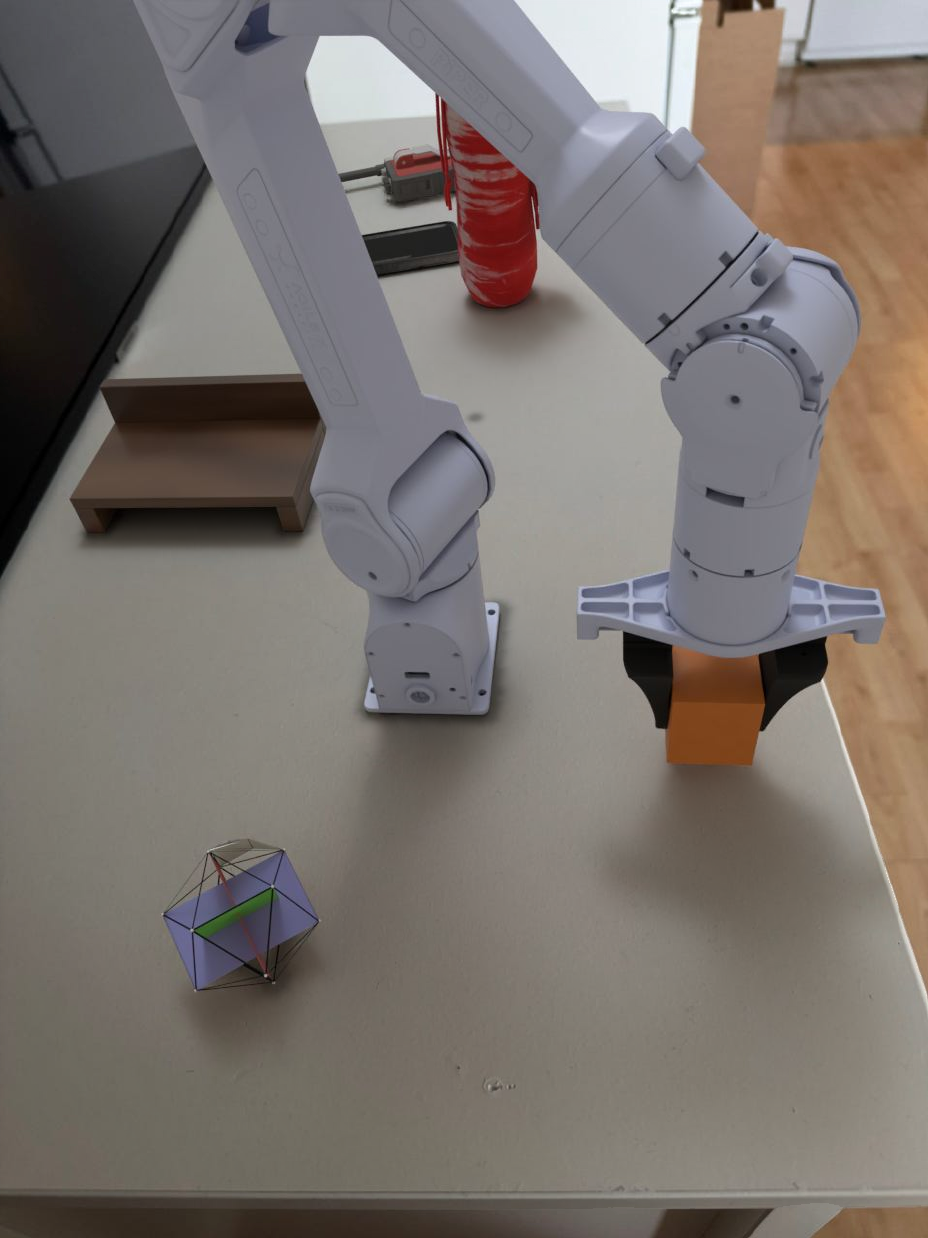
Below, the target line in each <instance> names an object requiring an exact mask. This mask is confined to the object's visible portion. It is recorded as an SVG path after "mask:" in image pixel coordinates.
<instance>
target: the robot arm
mask: <svg viewBox="0 0 928 1238" xmlns="http://www.w3.org/2000/svg"><path fill="white" fill-rule="evenodd" d="M132 1H133V4H134V6H135V8H136V10H137V12H138V15H139V17H140V19H141V21H142V23H143V25H144V27H145V30H146V32H147V35H148V36H149V38H150V41H151V43H152V46H153V47H154V49H155V52H156V54H157V56H158V58H159V60H160V63H161V65H162V67H163V71H164V74H165V77H166V80H167V82H168V84H169V87H170V89H171V92H172V94H173V96H174V98H175V101H176V103H177V105H178V107H179V110H180V112H181V113H182V116H183V118H184V120H185V122H186V125H187V127H188V129H189V131H190V133H191V136H192V137H193V140H194V142H195V145H196V146H197V149H198V151H199V154H200V156H201V157H202V159H203V162H204V164H205V166H206V168H207V170H208V173H209V175H210V177H211V179H212V181H213V183H214V185H215V188H216V190H217V192H218V195H219V196H220V198H221V201H222V203H223V205H224V208H225V210H226V212H227V214H228V216H229V219H230V220H231V222H232V225H233V227H234V229H235V231H236V233H237V236H238V238H239V240H240V242H241V244H242V247H243V249H244V251H245V254H246V255H247V257H248V260H249V261H250V264H251V267H252V268H253V271H254V273H255V275H256V277H257V279H258V282H259V284H260V286H261V288H262V290H263V293H264V295H265V297H266V299H267V301H268V303H269V305H270V308H271V311H272V313H273V314H274V317H275V319H276V321H277V322H278V325H279V328H280V330H281V332H282V334H283V336H284V338H285V341H286V343H287V345H288V348H289V349H290V352H291V354H292V356H293V358H294V360H295V362H296V364H297V366H298V369H299V371H300V374H302V375H303V378H304V380H305V382H306V384H307V386H308V388H309V391H310V393H311V395H312V397H313V399H314V402H315V404H316V406H317V408H318V410H319V412H320V415H321V417H322V419H323V421H324V423H325V426H326V434H325V439H324V442H323V445H322V449H321V452H320V455H319V458H318V462H317V465H316V468H315V471H314V475H313V478H312V482H311V486H310V492H311V495H312V497H313V502H315V505H316V507H317V510H318V513H319V516H320V527H321V528H320V529H321V537H322V540H323V543H324V546H325V549H326V552H327V554H328V556H329V557H330V560H331V561H332V563H333V564H334V565H335V567H336V568H337V569H338V570H339V571H340V573H341V574H342V575H343V576H344V577H346V578H347V580H349V581H350V582H351V583H353V584H354V585H356V586H357V587H358V588H361V589H362V590H364V591H366V595H367V599H368V612H369V613H368V620H367V625H366V630H365V635H364V638H363V639H364V640H363V651H364V656H365V660H366V664H367V667H368V668H367V669H368V671H369V678H368V681H367V682H368V683H367V687H366V692H365V697H364V700H363V707H364V709H365V711H366V712H368V713H383V714H384V713H385V714H386V713H387V714H389V713H390V714H425V715H427V714H431V715H465V716H466V715H468V716H469V715H470V716H471V715H473V716H483V715H485V714H487V713H488V712H489V710H490V704H491V695H492V688H493V687H492V685H493V677H494V676H493V675H494V667H495V659H496V650H497V649H496V647H497V641H498V639H497V638H498V630H499V621H500V613H501V609H500V608H501V607H500V604H499V603H497V602H495V601H494V602H493V601H486V599H485V591H484V583H483V574H482V566H481V558H480V550H479V540H478V530H479V528H480V527H481V520H480V511H479V509H481V508H483V507H484V506H485V504H487V503H488V502H489V500H490V499H491V498H492V496H493V495H494V492H495V488H496V474H495V468H494V467H493V464H492V461H491V459H490V457H489V455H488V454H487V452H486V451H485V449H484V448H483V446H482V445H481V444H480V442H478V440H477V439H476V438H475V437H474V435H472V433H471V431H470V430H469V429H468V427H467V425H466V423H465V421H464V418H463V416H462V413H461V411H460V407H459V405H458V403H457V402H454V401H453V400H450V399H448V398H445V397H442V396H439V395H438V396H437V395H434V394H429V393H423V392H422V391H421V388H420V385H419V382H418V380H417V377H416V375H415V372H414V370H413V367H412V364H411V362H410V358H409V357H408V354H407V351H406V348H405V346H404V343H403V341H402V338H401V335H400V333H399V329H398V327H397V325H396V322H395V319H394V317H393V314H392V312H391V309H390V307H389V304H388V301H387V298H386V296H385V293H384V290H383V289H382V285H381V282H380V280H379V277H378V275H376V272H375V269H374V267H373V264H372V261H371V259H370V256H369V253H368V251H367V248H366V246H365V243H364V240H363V238H362V235H363V234H362V233H361V230H360V228H359V225H358V222H357V219H356V217H355V214H354V211H353V209H352V206H351V204H350V200H349V198H348V196H347V192H346V190H345V187H344V185H343V182H341V180H340V177H339V175H338V174H339V172H338V170H337V166H336V165H335V161H334V159H333V156H332V154H331V151H330V148H329V145H328V143H327V140H326V138H325V135H324V132H323V130H322V127H321V124H320V122H319V120H318V119H319V118H318V117H317V114H316V112H315V109H314V106H313V104H312V100H311V99H310V95H309V93H308V91H307V87H306V83H305V78H306V74H307V71H308V68H309V65H310V63H311V61H312V58H313V55H314V53H315V50H316V47H317V45H318V43H319V42H318V41H319V39H320V37H346V36H347V37H371V38H373V39H375V40H376V41H378V42H379V43H380V44H381V45H382V46H383V47H385V49H387V51H389V52H390V53H391V54H392V55H393V56H394V57H396V58H397V59H398V60H399V61H400V62H401V63H402V64H403V65H404V66H405V67H406V68H408V69H409V71H411V72H412V73H413V74H414V75H415V76H416V77H417V78H418V79H420V81H422V82H423V83H424V84H425V85H426V86H428V88H430V90H432V91H433V92H434V94H435V93H436V94H437V95H438V96H439V98H440V99H441V98H442V99H443V100H444V101H445V102H446V103H447V104H448V105H449V106H450V107H451V108H453V109H454V110H455V111H456V112H457V113H458V114H459V115H460V116H461V117H462V118H463V119H464V120H466V121H467V122H468V123H469V124H470V125H471V126H472V127H473V128H474V129H475V130H476V131H478V132H479V133H480V134H481V135H482V136H483V137H484V138H485V139H486V140H487V141H488V142H490V143H491V144H492V145H493V146H494V147H495V148H496V149H497V150H498V151H499V152H500V153H502V154H503V155H504V156H505V157H506V158H507V159H508V160H509V161H510V162H511V163H512V164H514V165H515V166H516V167H517V168H518V169H519V170H520V171H521V172H522V173H523V174H524V175H526V176H527V177H528V178H529V179H530V180H531V181H532V182H533V183H534V184H535V186H536V189H537V194H538V213H539V225H540V229H539V232H540V236H541V239H542V240H543V241H544V242H545V243H546V245H548V247H549V248H550V249H551V250H552V251H553V252H554V253H556V255H557V256H558V257H559V258H560V259H561V260H562V261H563V262H564V264H566V265H567V267H569V269H571V270H572V272H573V273H574V274H575V275H576V276H577V277H578V278H579V279H580V280H581V281H582V282H583V283H584V284H585V286H587V287H588V288H589V290H591V292H593V294H595V296H596V297H597V298H598V299H599V300H600V301H601V302H602V303H603V304H604V305H605V306H606V308H608V309H609V310H610V311H611V313H612V314H614V316H615V317H617V319H618V320H619V321H620V322H621V323H622V324H623V325H624V326H625V327H626V328H627V329H628V330H629V331H630V332H631V334H633V336H634V337H636V338H637V340H638V341H639V342H640V343H641V344H643V345H644V347H645V348H646V349H647V350H648V351H649V352H650V353H651V354H652V355H653V356H654V358H656V360H658V362H659V363H660V364H661V365H663V367H664V368H666V369H667V371H668V375H667V377H666V376H665V377H662V378H661V379H660V393H661V394H660V395H661V399H662V403H663V406H664V409H665V412H666V413H667V416H668V418H669V420H670V421H671V423H672V424H673V426H674V427H675V429H676V430H677V431H678V433H679V434H680V436H681V446H680V448H679V456H678V468H677V478H676V479H677V480H676V492H675V503H674V514H673V526H672V536H671V547H670V557H669V559H670V560H669V569H664V570H661V571H657V572H653V573H648V574H645V575H640V576H636V577H633V578H629V579H624V580H620V581H616V582H612V583H606V584H600V585H587V586H586V585H585V586H583V585H582V586H580V585H579V586H577V593H576V639H577V640H581V641H583V640H584V641H585V640H586V641H594V640H597V639H598V638H599V637H600V631H601V632H602V631H603V632H604V631H606V632H607V631H608V632H609V631H611V632H613V631H614V632H615V631H616V632H622V663H623V667H624V669H625V673H626V675H627V677H628V679H630V680H631V681H633V682H634V683H635V684H636V685H637V687H639V688H640V690H641V691H642V693H643V694H644V696H645V698H646V699H647V702H648V704H649V706H650V709H651V711H652V714H653V717H654V727H655V728H656V729H658V730H665V729H667V727H668V722H669V695H670V689H671V684H672V681H673V678H674V675H673V658H672V648H673V645H674V646H678V647H682V648H685V649H689V650H692V651H696V652H699V653H703V654H707V655H711V656H715V657H723V658H741V657H747V656H752V655H756V654H758V656H759V663H760V671H761V678H762V685H763V692H764V700H765V707H764V712H763V716H762V721H761V726H760V730H759V733H760V732H761V733H763V732H764V731H765V730H766V729H767V728H768V726H769V725H770V723H771V722H772V720H773V719H774V718H775V716H776V715H777V714H778V713H779V712H780V710H781V709H782V708H783V707H784V706H785V705H786V704H787V703H788V702H789V701H790V700H791V699H792V698H794V697H795V696H796V695H797V694H799V693H800V692H802V691H803V690H806V689H808V688H809V687H811V686H813V685H817V684H819V683H821V682H822V680H823V678H824V676H825V675H826V673H827V669H828V666H829V657H828V652H827V647H826V643H827V639H828V637H829V636H833V635H838V634H839V635H852V640H853V641H854V642H855V643H857V644H860V645H877V644H878V643H879V641H880V638H881V635H882V632H883V629H884V625H885V623H886V620H887V614H886V612H885V608H884V604H883V600H882V597H881V592H880V589H879V588H870V587H859V586H857V587H856V586H848V585H845V584H839V583H834V582H830V581H826V580H822V579H818V578H814V577H809V576H805V575H802V574H801V575H800V574H796V573H797V568H798V564H799V559H800V555H801V551H802V547H803V544H804V543H803V542H804V538H805V534H806V529H807V524H808V520H809V516H810V511H811V507H812V502H813V497H814V492H815V489H816V484H817V479H818V474H819V469H820V466H821V465H820V464H821V448H822V445H823V442H824V438H825V425H826V419H827V415H828V410H829V405H830V399H829V397H830V396H831V394H832V392H833V390H834V388H835V386H836V385H837V383H838V381H839V380H840V378H841V376H842V375H843V373H844V371H845V369H846V367H847V366H848V364H849V363H850V361H851V358H852V356H853V354H854V352H855V349H856V345H857V343H858V340H859V337H860V333H861V329H862V328H861V327H862V313H861V307H860V304H859V300H858V297H857V295H856V292H855V290H854V288H852V285H851V284H850V283H849V282H848V280H847V279H846V277H845V275H844V273H843V270H842V268H841V266H840V264H839V263H838V262H836V261H835V260H833V259H832V258H830V257H828V256H826V255H824V254H823V253H820V252H818V251H815V250H812V249H809V248H808V249H807V248H804V247H796V246H788V245H785V244H784V243H783V242H782V241H781V239H779V238H777V237H775V238H773V237H772V235H771V234H770V233H769V232H767V233H765V234H764V233H763V232H762V231H761V230H759V227H757V226H756V224H755V223H754V222H753V221H752V220H751V219H750V218H749V216H747V214H746V213H745V212H744V211H743V210H742V209H741V208H740V207H739V206H738V204H737V203H736V202H735V201H734V200H733V199H732V198H731V197H730V195H728V194H727V193H726V192H725V190H724V189H723V188H722V187H721V186H720V185H719V183H717V182H716V180H715V179H714V178H713V177H712V176H711V175H710V173H708V172H707V170H705V169H704V167H703V166H702V165H701V164H700V162H701V161H702V160H703V158H704V157H705V156H706V153H707V150H706V148H705V146H703V145H702V144H701V142H700V141H699V140H698V139H697V138H696V137H695V136H694V135H693V133H692V132H691V130H689V129H688V128H687V127H685V126H680V127H679V128H678V129H676V131H674V132H673V133H672V132H671V131H670V130H668V129H667V127H666V126H665V125H664V124H663V123H662V122H661V120H660V119H659V118H658V117H657V116H656V115H655V114H654V113H651V112H644V111H642V112H641V111H619V110H618V111H617V110H607V109H605V108H601V106H600V105H599V104H598V103H597V101H596V100H595V99H594V97H592V95H591V94H590V92H589V91H588V90H587V89H586V88H585V86H584V85H583V84H582V83H581V81H580V80H579V79H578V77H577V76H576V75H575V74H574V73H573V72H572V70H571V69H570V68H569V66H568V65H567V63H565V62H564V60H563V59H562V57H560V55H559V54H558V53H557V52H556V50H555V49H554V47H552V45H551V44H550V43H549V42H548V40H547V38H545V36H544V35H543V34H542V33H541V31H540V30H539V29H538V28H537V26H536V25H535V24H534V23H533V22H532V21H531V19H530V18H529V17H528V15H527V14H526V13H525V11H524V10H523V9H522V8H521V7H520V5H519V4H518V3H517V2H516V0H132ZM373 692H374V693H373ZM481 694H484V695H481Z"/></svg>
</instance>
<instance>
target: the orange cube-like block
mask: <svg viewBox="0 0 928 1238" xmlns="http://www.w3.org/2000/svg"><path fill="white" fill-rule="evenodd" d="M758 655H759V654H756V655H752V656H747V657H741V658H723V657H715V656H711V655H707V654H703V653H699V652H696V651H692V650H689V649H685V648H682V647H678V646H674V645H673V648H672V658H673V675H674V678H673V681H672V684H671V689H670V695H669V722H668V727H667V729H664V735H665V737H664V738H665V759H666V763H667V764H687V765H712V766H713V765H717V766H719V765H720V766H746V767H748V766H749V767H751V766H753V762H754V758H755V754H756V753H755V752H756V748H757V745H758V744H757V743H758V740H759V734H760V731H759V730H760V726H761V721H762V716H763V712H764V707H765V700H764V692H763V685H762V678H761V671H760V663H759V656H758Z"/></svg>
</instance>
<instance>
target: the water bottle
mask: <svg viewBox="0 0 928 1238" xmlns="http://www.w3.org/2000/svg"><path fill="white" fill-rule="evenodd" d="M434 95H435V98H434V99H435V114H436V115H435V117H436V134H437V143H438V150H439V151H440V159H441V167H442V171H443V173H444V175H445V177H446V184H445V187H444V193H443V196H444V203H445V207H447V208H448V209H447V210H448V211H453V204H452V194H451V193H452V192H451V191H450V187H451V186H452V184H453V183H452V181H451V179H450V177H449V168H448V155H447V149H449V153H450V158H451V163H452V168H453V175H454V184H455V191H454V192H455V205H456V225H457V235H458V255H459V261H458V263H459V269H460V276H461V278H462V280H463V282H464V286H465V287H466V289H467V291H468V293H469V294H470V296H471V297H472V299H473V300H474V301H475V302H476V303H477V304H479V305H483V306H484V307H487V308H506V307H509V306H515V305H517V304H518V303H520V302H521V301H523V300H525V299H526V298H527V297H528V296H529V294H530V292H531V290H532V287H533V283H534V281H535V277H536V274H537V271H538V240H537V232H536V230H537V231H538V230H540V225H539V208H538V194H537V189H536V186H535V184H534V183H533V182H532V181H531V180H530V179H529V178H528V177H527V176H526V175H524V174H523V173H522V172H521V171H520V170H519V169H518V168H517V167H516V166H515V165H514V164H512V163H511V162H510V161H509V160H508V159H507V158H506V157H505V156H504V155H503V154H502V153H500V152H499V151H498V150H497V149H496V148H495V147H494V146H493V145H492V144H491V143H490V142H488V141H487V140H486V139H485V138H484V137H483V136H482V135H481V134H480V133H479V132H478V131H476V130H475V129H474V128H473V127H472V126H471V125H470V124H469V123H468V122H467V121H466V120H464V119H463V118H462V117H461V116H460V115H459V114H458V113H457V112H456V111H455V110H454V109H453V108H451V107H450V106H449V105H448V104H447V103H446V102H445V101H444V100H443V99H442V98H441V97H439V96H438V95H437V94H436V93H435V92H434ZM443 151H444V155H443Z"/></svg>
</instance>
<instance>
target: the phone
mask: <svg viewBox="0 0 928 1238" xmlns="http://www.w3.org/2000/svg"><path fill="white" fill-rule="evenodd" d="M361 235H362V238H363V240H364V243H365V246H366V248H367V251H368V253H369V256H370V259H371V261H372V264H373V267H374V269H375V272H376V275H377V276H379V275H385V274H392V273H397V272H404V271H408V270H414V269H420V268H421V269H422V268H427V267H434V266H439V265H445V264H451V263H457V262H459V255H458V235H457V222H455V221H452V220H444V221H437V222H432V223H425V224H419V225H413V226H408V227H402V228H401V227H400V228H395V229H390V230H383V231H378V232H372V233H366V234H361Z"/></svg>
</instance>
